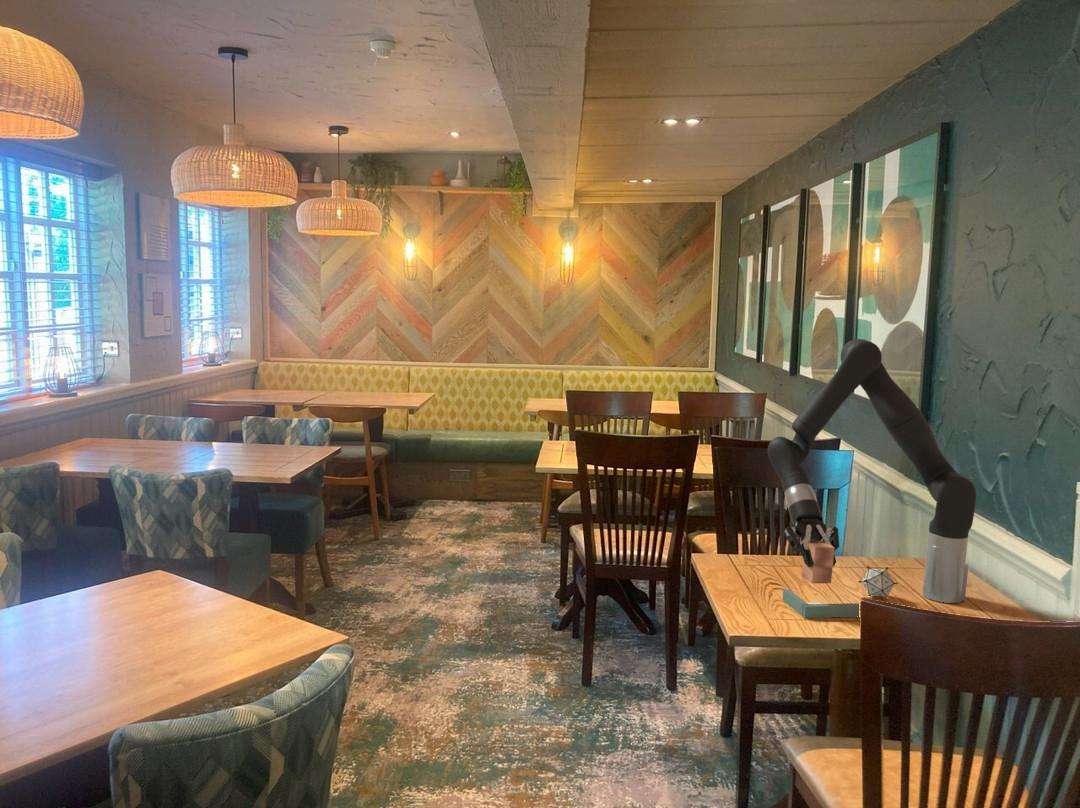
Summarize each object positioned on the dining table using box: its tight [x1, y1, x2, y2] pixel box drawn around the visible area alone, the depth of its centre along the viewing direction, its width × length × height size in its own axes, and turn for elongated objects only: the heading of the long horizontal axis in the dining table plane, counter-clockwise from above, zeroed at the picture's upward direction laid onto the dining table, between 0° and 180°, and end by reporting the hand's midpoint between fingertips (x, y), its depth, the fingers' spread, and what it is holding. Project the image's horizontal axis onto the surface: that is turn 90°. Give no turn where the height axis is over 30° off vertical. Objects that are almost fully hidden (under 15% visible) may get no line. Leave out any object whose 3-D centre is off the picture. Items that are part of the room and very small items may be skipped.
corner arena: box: [782, 588, 860, 619], centre depth 197 cm, size 16×12×3 cm
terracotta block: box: [801, 540, 835, 584], centre depth 195 cm, size 5×5×9 cm
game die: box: [857, 565, 899, 598], centre depth 207 cm, size 9×8×10 cm
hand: (821, 565), depth 193 cm, fingers closed on terracotta block, 5 cm apart
